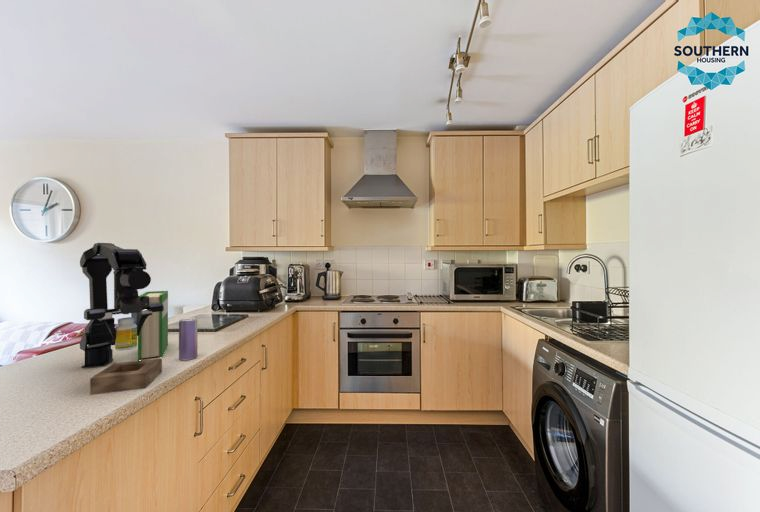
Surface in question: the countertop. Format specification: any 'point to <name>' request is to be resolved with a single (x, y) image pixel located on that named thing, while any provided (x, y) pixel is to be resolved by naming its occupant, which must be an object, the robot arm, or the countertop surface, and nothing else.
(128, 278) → the robot arm
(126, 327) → the supplement bottle
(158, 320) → the hardback book
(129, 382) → the well block
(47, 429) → the countertop surface
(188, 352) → the beverage can
